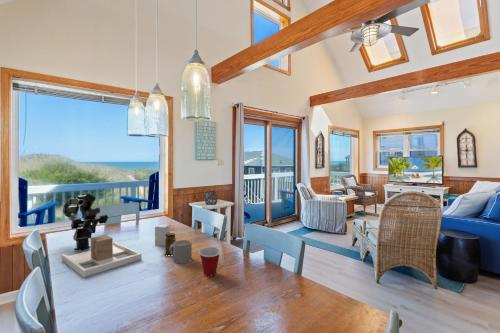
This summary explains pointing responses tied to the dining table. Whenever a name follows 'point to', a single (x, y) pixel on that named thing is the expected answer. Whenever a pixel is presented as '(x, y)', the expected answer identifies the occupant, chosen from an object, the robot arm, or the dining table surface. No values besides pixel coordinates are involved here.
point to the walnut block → (101, 247)
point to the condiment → (169, 243)
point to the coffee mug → (181, 251)
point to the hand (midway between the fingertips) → (94, 232)
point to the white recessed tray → (91, 267)
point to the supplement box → (161, 234)
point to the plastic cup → (209, 260)
